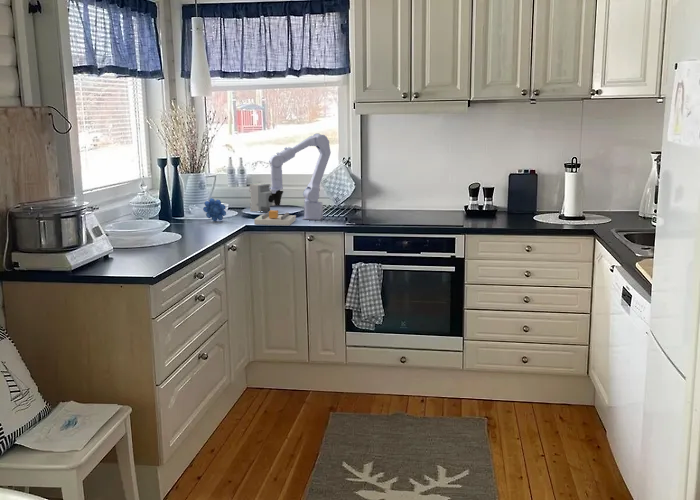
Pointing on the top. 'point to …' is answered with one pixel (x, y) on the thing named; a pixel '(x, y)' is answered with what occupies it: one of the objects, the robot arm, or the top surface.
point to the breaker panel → (275, 219)
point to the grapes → (214, 209)
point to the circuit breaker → (261, 197)
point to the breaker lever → (273, 214)
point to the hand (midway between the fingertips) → (277, 205)
